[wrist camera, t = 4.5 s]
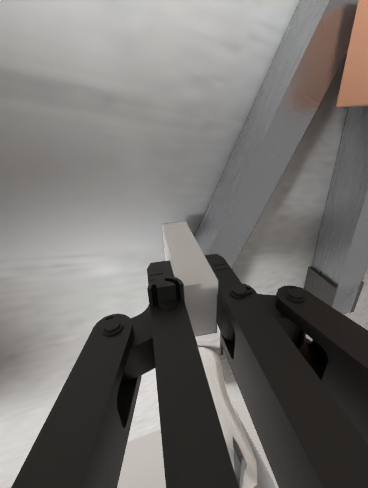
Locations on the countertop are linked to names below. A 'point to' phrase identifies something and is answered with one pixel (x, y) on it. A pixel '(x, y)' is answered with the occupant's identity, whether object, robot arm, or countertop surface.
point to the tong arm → (277, 122)
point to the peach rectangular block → (356, 62)
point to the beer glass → (234, 429)
